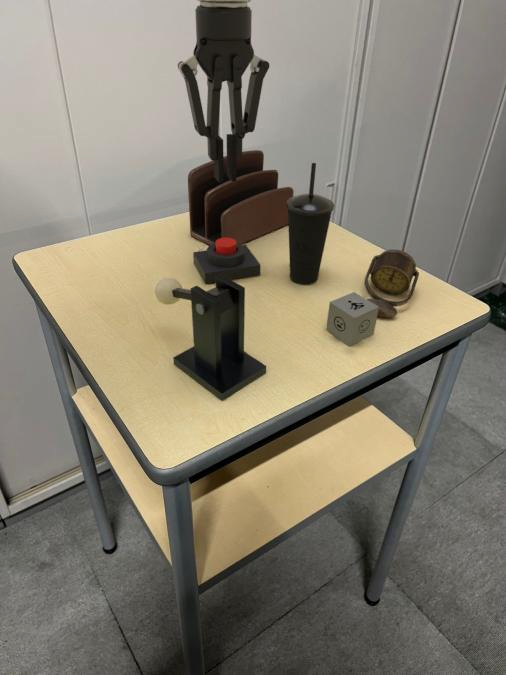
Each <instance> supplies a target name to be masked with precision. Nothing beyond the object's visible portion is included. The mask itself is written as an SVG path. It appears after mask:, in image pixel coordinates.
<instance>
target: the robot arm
mask: <svg viewBox="0 0 506 675" xmlns="http://www.w3.org/2000/svg"><path fill="white" fill-rule="evenodd" d="M196 1H197V2H199V5H196V8H195V9H194V11H195V34H196V37H195V38H196V42H195V46H194V49H193V55H191V56H190V57H189V58H187V59H186V60H184V61H183V60H180V61H178V63H177V69H178V70H179V72H180V74H181V76H182V77H183V79H184V82H185V87H186V93H187V98H188V103H189V107H190V112H191V118H192V122H193V126H194V130H195V131H196V133H197V134H198V135H199V136H200V137H206V138H207V139H206V140H207V141H206V142H207V156H208V159H210V161H213V160H214V177H215V178H216V180H217V181H218V182H219V183H222V182H224V159H223V157H224V139H223V138H222V137H221V136H220V135H219V130H220V113H221V112H220V109H221V91H222V89H223V88H222V87H223V83H224V82H226V84H227V89H228V91H227V92H228V103H229V117H230V119H229V120H230V130H231V133H227V134H226V156H227V176H228V178H229V179H230V180H231V181H236V165H237V158H241V156H242V152H243V139H244V138H245V137H246V134H248V133H253V132H254V131H255V129H256V123H257V117H258V112H259V106H260V99H261V95H262V89H263V84H264V79H265V77H266V75H267V72H268V71H269V69H270V63H269V61H267V60H265V59H263V58H260V57H259V56H258V55H256V54H255V50H254V47H253V45H252V18H253V14H252V12H253V11H252V9H251V7H250V6H248V3H250V2H252V0H196ZM198 66H199V67H200V69H201V70H202V72H203V73H204V74H205V76H206V84H207V85H206V86H207V100H206V102H207V103H206V121H205V115H204V111H203V105H202V99H201V95H200V89H199V84H198V80H197V78H196V76H197V75H198ZM248 67H249V70H250V75H249V80H248V86H247V92H246V97H245V98H246V99H245V104H244V111H243V101H242V100H243V97H242V88H243V80H242V77H243V75H245V74H244V73H245V72H246V70H247V69H248Z"/></svg>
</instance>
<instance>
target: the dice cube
mask: <svg viewBox="0 0 506 675" xmlns="http://www.w3.org/2000/svg"><path fill="white" fill-rule="evenodd" d="M367 299H368V298H365V297H363V296H362V295H360V294H358V293H357V292H355V291H353V292H349V293H347V294H345V295H343V296H340V297H338V298H335V299H334V300H331V301H329V304H328V312H327V318H326V319H327V320H326V326H325V329H326V330H325V331H327V332H328V333H330V334H331V335H332V336H334V337H335V338H337V339H338V340H339V341H341V342H343V343H344V344H345V345H347V346H348V347H352V346H353V345H356V344H358V343H360V342H362V341H364V340H366V339H367V338H370V337H372V336H373V335H375V328H376V323H377V319H378V315H377V314H378V309H379V307H378V306H377V305H375V304H373V303H372V302H370V301H368V300H367Z"/></svg>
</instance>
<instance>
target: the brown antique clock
mask: <svg viewBox="0 0 506 675" xmlns="http://www.w3.org/2000/svg"><path fill="white" fill-rule="evenodd" d="M419 276H420V272H419V271H418V270H417V263H416V260H414V258H413V256H412V255H411V254H409V253H408V252H406V251H405V250H404V251H403V250H400V249H387V250H384V251H383V252H381V253H380V254H377V255H374V256H373V258H372V259H371V262H370V264H369V266H368V269H367V271H366V274H365V277H364V283H363V284H364V287H365V290H366V292H367V293H368V295H369V296H370V298H366V299H367V300H368V301H370V302H372V303H373V304H375V305H377V306H378V307H379V309H378V314H377V317H382V318H394V317H396V316H398V310H397V308H398V307H402V306H403V305H406V304H407V303H409V301H411V299H412V297H413V295H414V292H415V289H416V285H417V283H418V280H419ZM369 278H370V281H371V284H372V285H373V287H374V288H375V289H376V290H377V291H379V292H381V293H383V294H386V295H389V296H399V295H402V294H404V293H406V292H408V290H409V288H410V290H409V294H408V296H407V298H405V299H403V300H399V301H395V300H388V299H385V298H383V297H381V296H380V295H378V294H376V293H375V291H373V289H372V288H371V285H370V283H369ZM410 286H411V287H410Z"/></svg>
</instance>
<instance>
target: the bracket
mask: <svg viewBox="0 0 506 675" xmlns="http://www.w3.org/2000/svg"><path fill="white" fill-rule="evenodd" d="M215 280H216V283H215V287H218V288H224V289H230V293H231V297H232V302H233V306H234V307H233V308H231V309H229V310H227V311H225V312H223V313H221V306H220V299H219V298H217V297H215V296H213V295H212V294H210V293H208V292H207V291H208V290H205V289H203V288H201V287H200V286H198V285H194V286H192V287H190V290H191V300H190V302H191V319H192V320H191V321H192V336H193V337H192V338H193V346H192V347H190V348H188V349H186V350H184V351H182V352H180V353H178V354H177V355H175V356H173V357H172V359H173V360H172V361H173V365H174V366H176V368H178V369H179V370H180V371H182V372H184V373H185V374H186V375H187V376H189V377H190V378H191V379H193V380H194V381H195V382H197V383H198V384H199V385H201V387H203V388H204V389H206V390H207V391H208V392H210V393H211V394H212V395H214V397H216V398H218V399H219V400H220V401H224V400H226V399H228V398H229V397H231V396H232V395H234V394H236V393H237V392H238V391H240V390H242V389H244V387H246V386H248V385H249V384H251V383H253V382H254V381H256V380H257V379H259V378H261V377H262V376H263V375H265V374H266V373H267V365H266V364H264V363H263V362H262V361H260V360H258V359H256V358H255V357H253V356H252V355H250V354H248V353H247V352H246V351H245V316H246V314H245V312H246V309H245V308H246V307H245V306H246V304H245V303H246V287H244V286H242V285H241V284H239V283H237V282H236V281H235V280H230V279H228V278H227V277H225V276H223V275H219V276H217V277H215Z"/></svg>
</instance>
